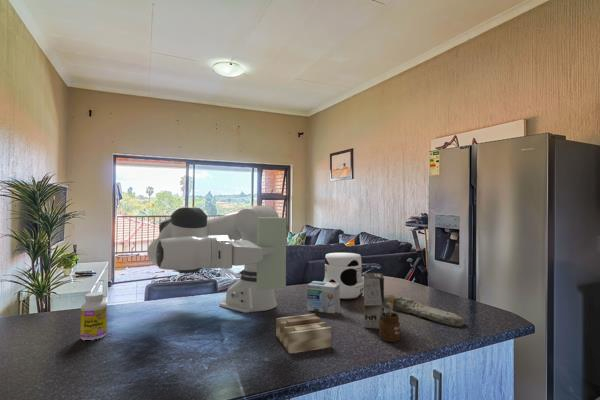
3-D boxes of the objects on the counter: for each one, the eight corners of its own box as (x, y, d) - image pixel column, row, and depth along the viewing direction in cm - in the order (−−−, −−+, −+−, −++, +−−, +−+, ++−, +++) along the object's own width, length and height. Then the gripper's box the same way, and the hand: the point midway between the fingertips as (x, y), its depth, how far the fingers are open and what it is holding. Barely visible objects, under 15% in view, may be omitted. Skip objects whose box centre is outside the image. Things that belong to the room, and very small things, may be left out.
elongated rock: (453, 334, 106) (469, 329, 112) (454, 318, 106) (470, 313, 112) (369, 302, 134) (385, 299, 140) (370, 289, 134) (386, 287, 140)
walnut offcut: (288, 344, 91) (288, 322, 92) (286, 341, 93) (286, 319, 93) (319, 339, 94) (318, 318, 95) (316, 337, 96) (316, 316, 96)
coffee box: (384, 329, 106) (384, 278, 106) (363, 328, 108) (363, 277, 108) (383, 319, 115) (383, 272, 115) (364, 318, 117) (364, 271, 117)
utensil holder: (378, 340, 97) (378, 299, 98) (380, 333, 103) (380, 294, 103) (399, 343, 95) (399, 301, 96) (400, 335, 101) (400, 295, 101)
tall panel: (258, 290, 93) (258, 218, 93) (256, 288, 94) (257, 217, 95) (285, 288, 95) (286, 217, 96) (283, 286, 97) (284, 217, 97)
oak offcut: (296, 349, 88) (296, 330, 88) (294, 346, 90) (294, 327, 90) (321, 345, 91) (321, 327, 91) (318, 342, 92) (318, 324, 92)
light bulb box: (306, 314, 121) (306, 284, 121) (312, 308, 127) (312, 280, 127) (335, 318, 117) (335, 287, 117) (340, 312, 123) (340, 282, 123)
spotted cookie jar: (319, 292, 151) (319, 252, 151) (357, 291, 153) (357, 251, 153) (327, 303, 133) (327, 258, 134) (369, 302, 135) (369, 257, 136)
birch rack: (289, 359, 86) (289, 333, 86) (275, 340, 98) (275, 317, 98) (332, 352, 90) (332, 328, 90) (313, 334, 102) (313, 313, 102)
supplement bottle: (79, 343, 96) (79, 298, 96) (81, 335, 101) (82, 292, 102) (106, 338, 99) (106, 295, 99) (107, 331, 105) (107, 290, 105)
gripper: (217, 257, 100) (262, 255, 105) (226, 270, 81) (281, 266, 85) (217, 236, 100) (262, 234, 105) (226, 244, 81) (281, 242, 86)
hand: (271, 249), depth 95 cm, fingers closed on tall panel, 2 cm apart
